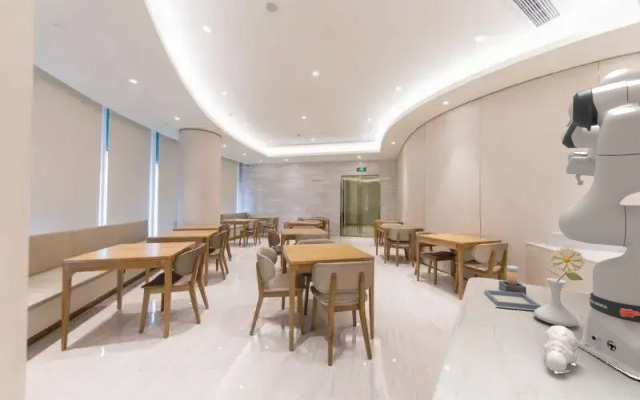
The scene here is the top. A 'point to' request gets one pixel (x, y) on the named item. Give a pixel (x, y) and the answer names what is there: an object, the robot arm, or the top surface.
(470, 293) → the top surface
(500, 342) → the top surface
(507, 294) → the parts tray
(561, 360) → the white lumpy oval piece
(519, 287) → the socket block
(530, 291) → the top surface
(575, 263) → the flower in vase
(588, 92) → the robot arm
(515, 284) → the tan bottle
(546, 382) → the top surface
